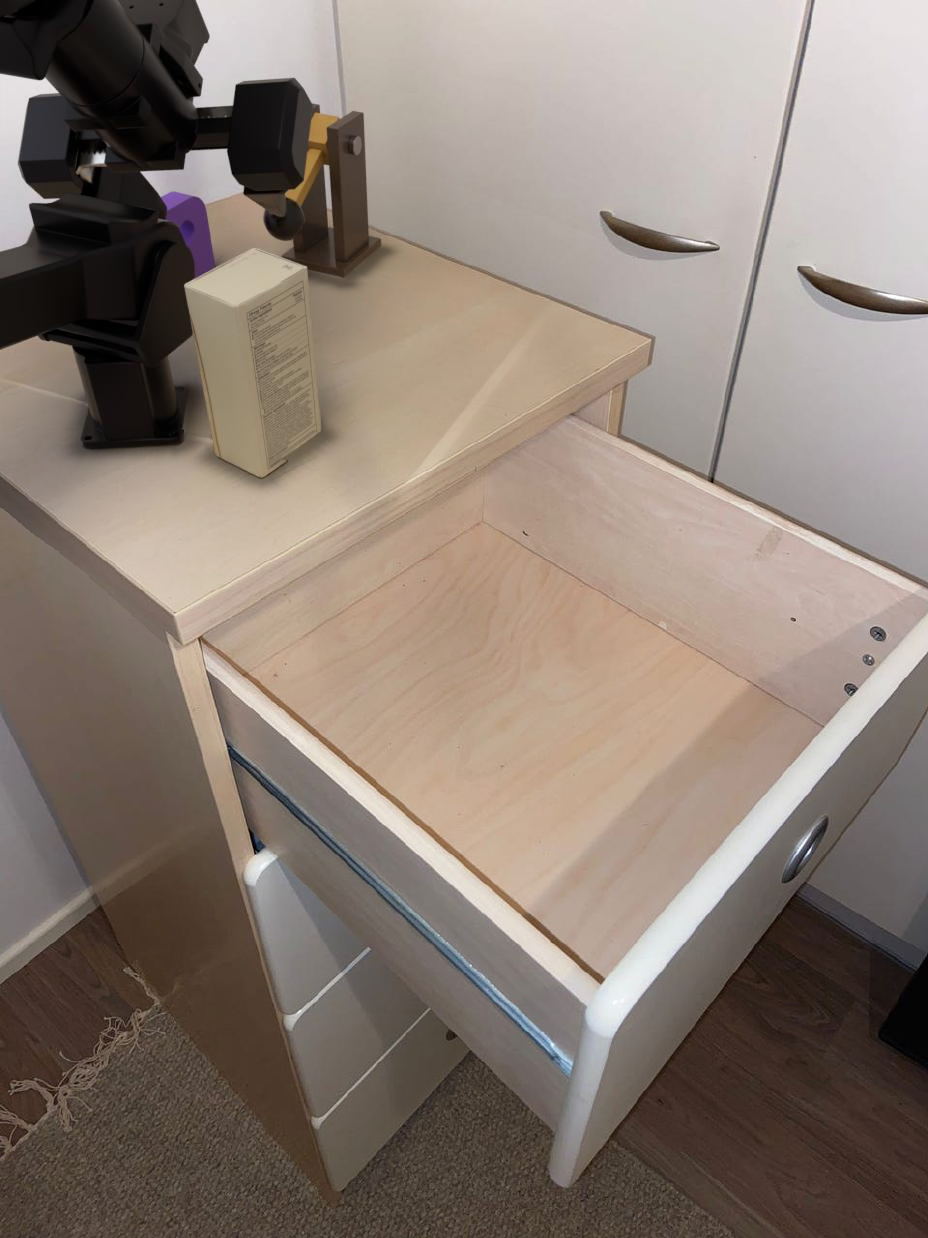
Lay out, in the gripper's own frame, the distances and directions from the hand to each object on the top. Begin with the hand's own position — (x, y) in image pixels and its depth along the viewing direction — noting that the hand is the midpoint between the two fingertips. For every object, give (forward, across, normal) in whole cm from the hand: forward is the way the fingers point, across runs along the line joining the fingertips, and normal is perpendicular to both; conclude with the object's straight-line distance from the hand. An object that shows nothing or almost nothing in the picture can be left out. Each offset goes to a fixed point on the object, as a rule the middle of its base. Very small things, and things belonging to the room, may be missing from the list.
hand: (223, 212), depth 70 cm
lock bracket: (+16, -2, -5) cm, 17 cm away
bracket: (+10, +13, -1) cm, 17 cm away
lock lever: (+9, -2, -7) cm, 12 cm away
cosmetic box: (-1, -6, +18) cm, 19 cm away
